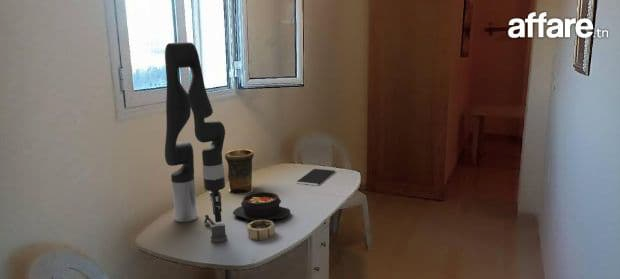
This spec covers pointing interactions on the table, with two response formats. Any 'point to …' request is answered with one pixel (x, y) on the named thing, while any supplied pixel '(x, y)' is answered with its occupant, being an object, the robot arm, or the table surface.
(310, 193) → the table surface
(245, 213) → the casserole
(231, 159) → the vessel
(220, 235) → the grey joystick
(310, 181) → the smartphone
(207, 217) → the wooden post with brackets
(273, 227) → the octagonal wooden ring
